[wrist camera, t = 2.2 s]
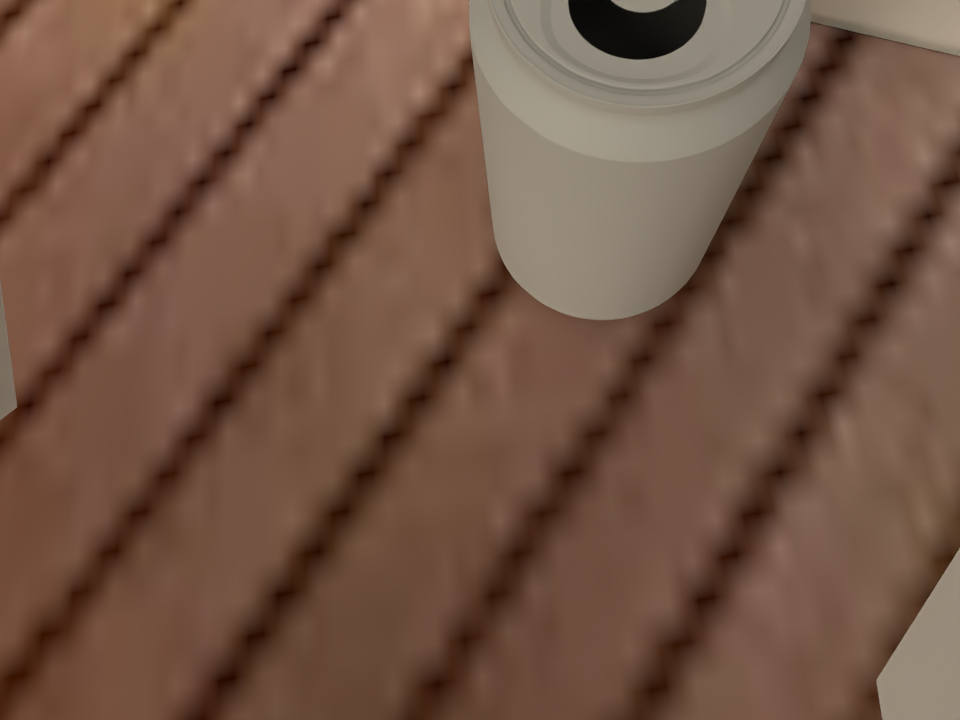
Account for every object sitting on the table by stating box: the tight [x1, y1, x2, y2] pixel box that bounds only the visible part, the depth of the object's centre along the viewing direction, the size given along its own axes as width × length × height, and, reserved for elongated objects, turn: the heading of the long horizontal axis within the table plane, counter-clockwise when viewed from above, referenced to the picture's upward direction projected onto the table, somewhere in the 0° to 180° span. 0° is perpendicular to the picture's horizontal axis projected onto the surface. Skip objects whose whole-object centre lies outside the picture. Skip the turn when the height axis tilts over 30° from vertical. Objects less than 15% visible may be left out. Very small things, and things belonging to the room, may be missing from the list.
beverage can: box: [469, 0, 811, 320], centre depth 21 cm, size 6×6×12 cm
